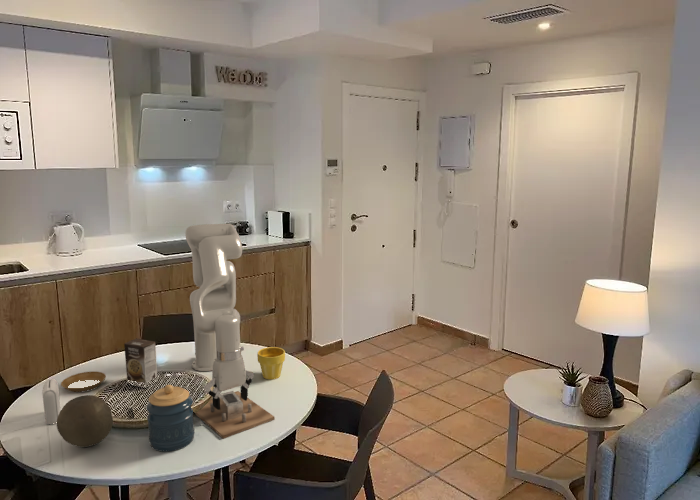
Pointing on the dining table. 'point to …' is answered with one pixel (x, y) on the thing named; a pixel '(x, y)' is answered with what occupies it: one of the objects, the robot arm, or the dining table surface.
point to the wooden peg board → (227, 428)
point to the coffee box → (140, 360)
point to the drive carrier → (231, 405)
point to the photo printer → (51, 401)
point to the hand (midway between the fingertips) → (230, 403)
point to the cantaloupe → (85, 421)
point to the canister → (170, 419)
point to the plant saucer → (83, 377)
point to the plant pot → (271, 362)
